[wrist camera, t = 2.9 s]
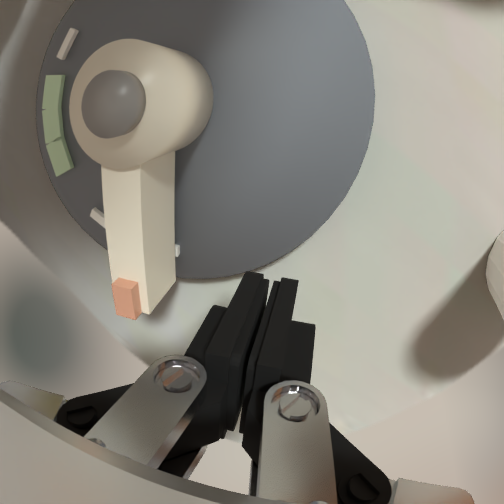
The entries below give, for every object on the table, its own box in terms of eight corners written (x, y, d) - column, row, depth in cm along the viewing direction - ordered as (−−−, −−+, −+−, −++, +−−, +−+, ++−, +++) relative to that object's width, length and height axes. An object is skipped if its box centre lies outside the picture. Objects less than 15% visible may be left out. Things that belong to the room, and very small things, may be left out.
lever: (121, 54, 12) (62, 48, 8) (217, 48, 11) (176, 28, 8) (124, 266, 17) (82, 306, 13) (205, 283, 16) (173, 333, 13)
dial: (63, -21, 11) (47, -25, 10) (380, -48, 9) (385, -61, 7) (60, 240, 19) (46, 249, 18) (334, 294, 17) (334, 311, 15)
